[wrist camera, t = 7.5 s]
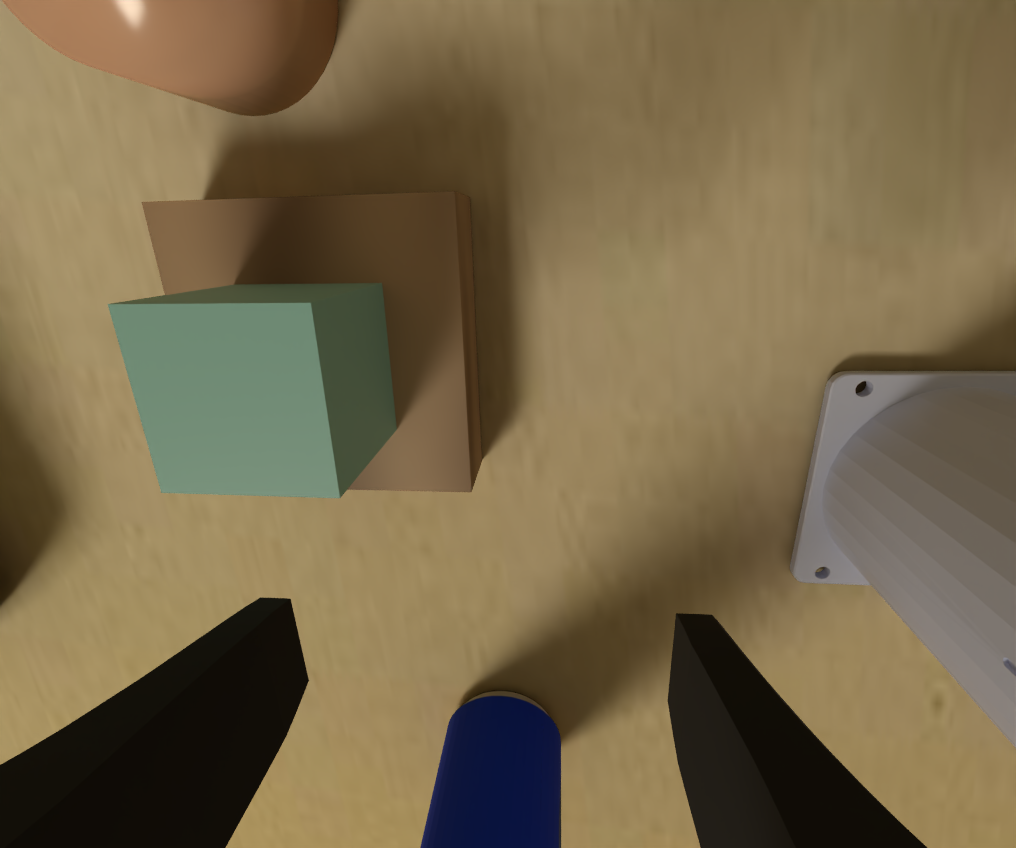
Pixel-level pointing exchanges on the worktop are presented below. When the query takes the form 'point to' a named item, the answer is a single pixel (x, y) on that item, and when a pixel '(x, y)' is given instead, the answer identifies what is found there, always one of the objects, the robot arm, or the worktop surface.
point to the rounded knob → (196, 45)
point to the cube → (260, 386)
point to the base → (360, 259)
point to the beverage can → (497, 777)
